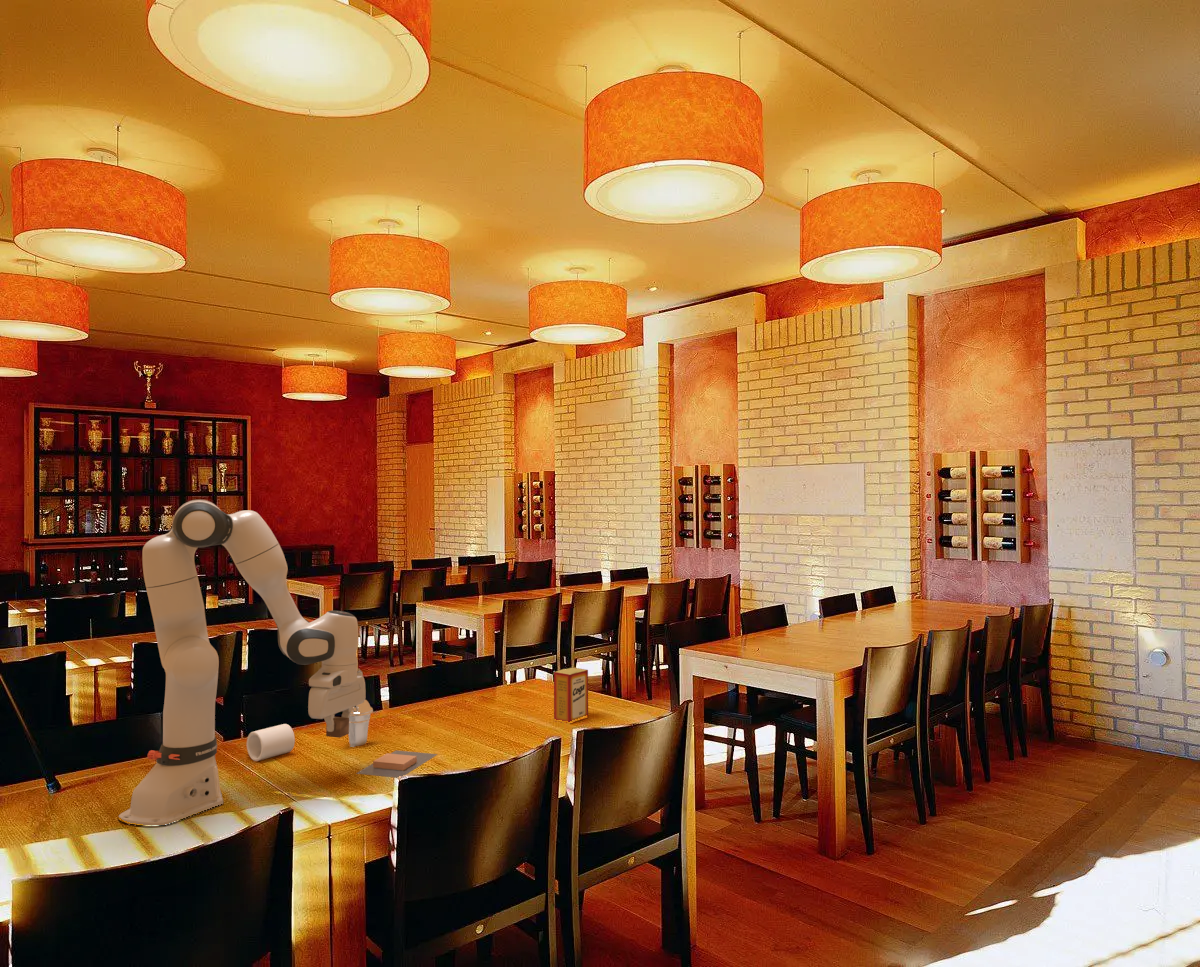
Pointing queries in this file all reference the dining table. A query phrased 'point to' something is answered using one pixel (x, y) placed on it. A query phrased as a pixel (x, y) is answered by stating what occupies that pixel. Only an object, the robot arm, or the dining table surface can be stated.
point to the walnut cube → (339, 727)
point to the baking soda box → (570, 694)
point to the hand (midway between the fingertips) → (337, 728)
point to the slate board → (396, 773)
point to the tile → (394, 761)
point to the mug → (270, 742)
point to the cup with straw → (359, 724)
